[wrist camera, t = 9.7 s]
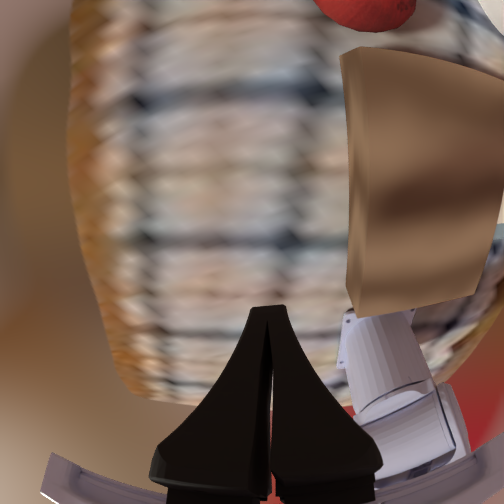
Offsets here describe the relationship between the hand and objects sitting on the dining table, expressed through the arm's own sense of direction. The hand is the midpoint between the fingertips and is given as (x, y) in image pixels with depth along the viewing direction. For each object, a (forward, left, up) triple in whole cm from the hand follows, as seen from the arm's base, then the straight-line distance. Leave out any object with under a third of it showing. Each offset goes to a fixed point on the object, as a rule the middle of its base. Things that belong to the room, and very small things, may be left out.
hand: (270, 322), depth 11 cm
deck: (+2, -12, -10) cm, 16 cm away
